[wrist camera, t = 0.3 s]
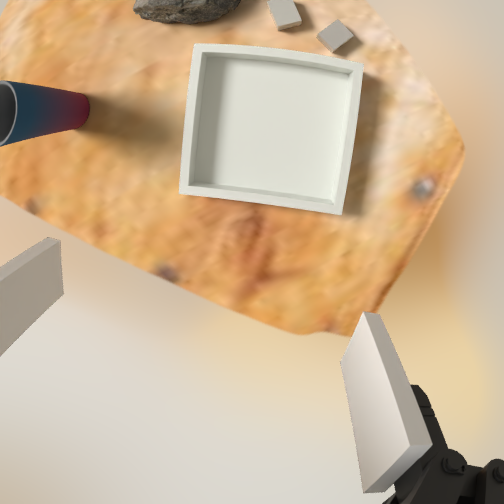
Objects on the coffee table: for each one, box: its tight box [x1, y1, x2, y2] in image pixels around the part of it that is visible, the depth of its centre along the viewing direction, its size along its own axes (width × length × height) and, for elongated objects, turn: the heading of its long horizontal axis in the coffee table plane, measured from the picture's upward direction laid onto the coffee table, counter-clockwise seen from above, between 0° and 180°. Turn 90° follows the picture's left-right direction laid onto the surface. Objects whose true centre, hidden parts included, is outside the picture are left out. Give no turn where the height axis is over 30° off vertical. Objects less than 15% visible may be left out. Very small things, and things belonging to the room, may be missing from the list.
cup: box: [0, 81, 90, 146], centre depth 28 cm, size 7×7×15 cm
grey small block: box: [267, 0, 302, 31], centre depth 29 cm, size 4×3×2 cm
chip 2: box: [316, 20, 354, 53], centre depth 30 cm, size 3×3×2 cm
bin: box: [179, 44, 364, 215], centre depth 33 cm, size 17×18×4 cm
